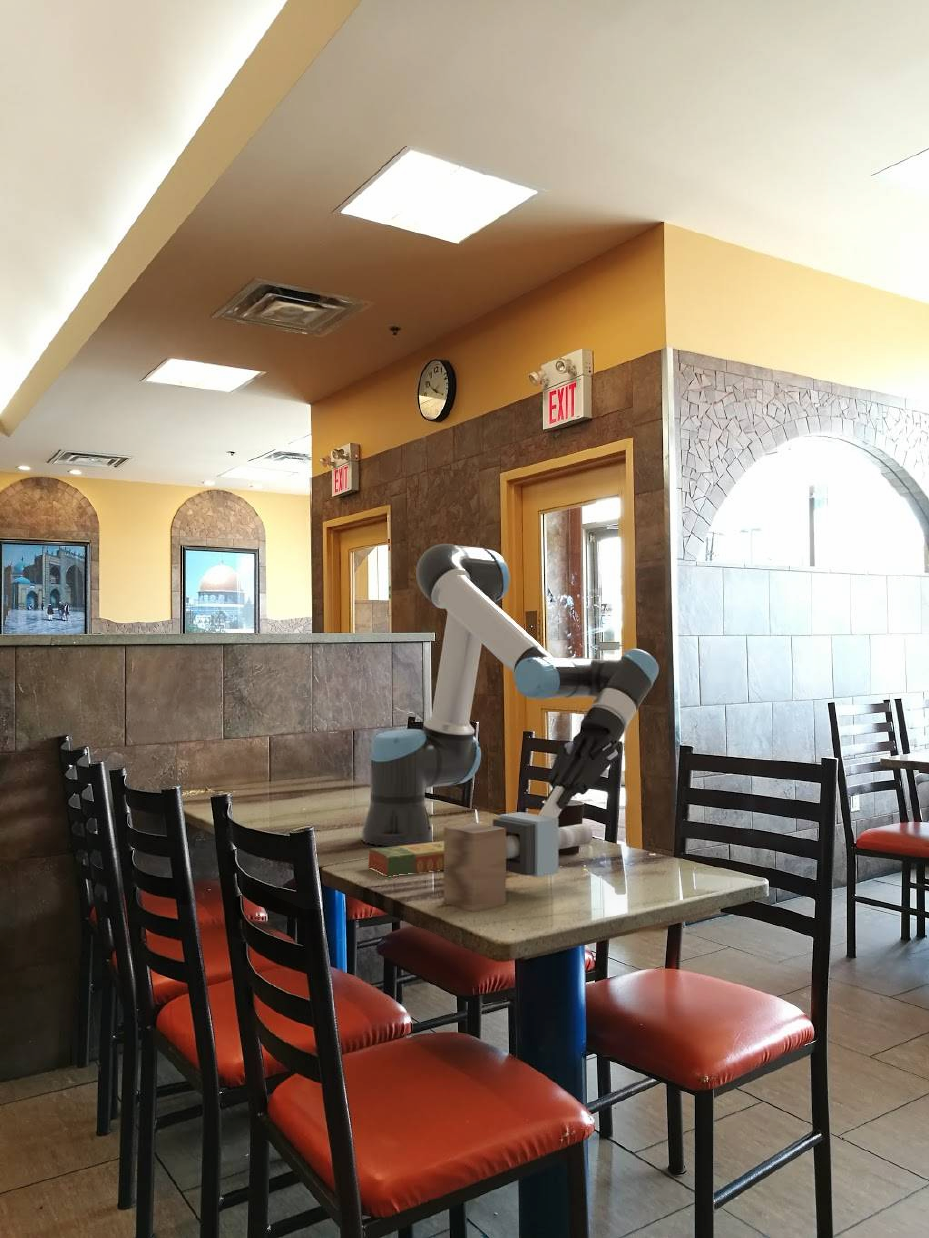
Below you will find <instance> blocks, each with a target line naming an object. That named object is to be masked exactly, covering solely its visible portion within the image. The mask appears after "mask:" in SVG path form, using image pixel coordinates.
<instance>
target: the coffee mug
mask: <svg viewBox="0 0 929 1238" xmlns="http://www.w3.org/2000/svg"><path fill="white" fill-rule="evenodd" d="M545 801H546V799H544V800H542V803H541V804H542V807H543V806H544V805H545V803H546V802H545ZM584 812H585V801H582V800H578V799H571V800H570V801H569V803H568V804H567V806H566V808H565V809H562V811H561V812H560V814H559V816H558V817H557V818H558V828H559V827H566V826H572V825H578V824H583V819H584ZM580 847H581V845H579V846H574V847H568V848H563V849H558V856H562V855H563V856H567V855H568V856H572V855H578V854H579V853H580Z"/></svg>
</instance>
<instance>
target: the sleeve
mask: <svg viewBox="0 0 929 1238" xmlns="http://www.w3.org/2000/svg"><path fill="white" fill-rule="evenodd" d="M498 816H499V818H503V819H508V820H514V821H519V822H525V823H530V824H535V874H532V875H528V876H530V877H533V878H541V877H542V878H543V877H546V876H550V875H552V876H553V875H554V874H555V875H556V874H559V855H558V818H552V817H546V816H541V815H539V814H536V813H535V814H533V813H527V812H522V811H518V812H510V813H503V814H499V815H498ZM499 818H498V819H499ZM511 834H515V833H510V832H508V835H511ZM511 859H516V860H520V857H519V858H511Z"/></svg>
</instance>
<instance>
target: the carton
mask: <svg viewBox="0 0 929 1238" xmlns="http://www.w3.org/2000/svg"><path fill="white" fill-rule="evenodd" d="M369 868H373V869H375V870H377V871H379V872H381V873H383V874H385V875H387V876H393V875H399V874H408V873H420V872H429V871H438V870H444V840H441V841H431V842H429V843H420V844H411V845H403V846H384V847H376V848H375V847H374V848H370V849H369V856H368V869H369ZM438 872H439V871H438ZM429 873H430V872H429Z"/></svg>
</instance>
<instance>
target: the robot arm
mask: <svg viewBox="0 0 929 1238" xmlns="http://www.w3.org/2000/svg"><path fill="white" fill-rule="evenodd" d="M509 570H510V569H509V567H508V564H507V563H506V561H505V559H504V557H503V556H502V555H501V554H499V553H498V552H496V551H495V550H492V549H488V548H487V549H486V548H485V547H484V548H483V547H478V546H476V547H475V546H467V545H458V544H453V543H452V544H451V543H440V544H439V543H438V544H436V545H433V546H432V547H430V548H428V549H427V550H425V552H424V553H423V554H422V555H421V556H420V558H419V560H418V562H417V565H416V572H415V573H416V574H415V576H416V581H417V585H418V586H419V589H420V591H421V593H422V594H423V595H424V596H425V597H426V598H427V599H428V600H429V601H430V602H431V603H432V604H433V605H434V606H435V607H436V608H438V609H445V611H446V612H447V617H446V623H445V628H444V636H443V639H442V640H443V642H442V648H441V654H440V660H439V661H440V662H439V667H438V673H437V679H436V680H437V681H436V685H435V686H436V687H435V691H434V692H435V693H434V699H433V705H432V712H431V716H430V717H429V718H428V719H426V720H425V721H423V724H422V725H423V726H422V729H417V728H405V729H395V730H389V731H384V732H381V733H378V734H376V735H375V736H374V737H373V739H372V741H371V749H370V751H371V752H370V754H369V757H370V805H369V808H368V811H367V814H366V817H365V821H364V825H363V827H362V829H361V841H362V840H363V841H364V842H367V843H370V844H369V845H371V844H375V845H374V846H378V845H382V846H381V847H393V846H403V845H411V844H420V843H429V842H433V828H432V825H431V822H430V818H429V815H428V811H427V808H426V804H425V802H426V801H425V798H426V797H425V793H426V792H425V789H426V788H427V789H428V788H435V787H446V786H447V787H453V786H456V785H458V784H463V783H466V782H467V781H469V780H470V779H472V778H473V777H474V775H475V774H476V773H477V772H478V769H479V768H480V767H479V766H480V764H481V761H482V760H481V758H482V751H481V747H480V746H479V745H480V744H479V741H478V739H477V738H476V737H475V729H474V727H473V726H472V725H471V723H470V719H471V718H470V717H471V713H472V706H473V700H474V695H475V688H476V682H477V677H478V671H479V663H480V657H481V652H482V651H481V649H482V645H484V646H485V648H486V649H488V651H489V652H490V653H492V654H493V656H495V657H496V658H497V659H498V660H499V661H500V662H501V664H503V665H504V666H505V667H506V668H507V669H508V670H509V671H511V673H512V674H513V680H514V681H513V682H514V684H515V687H516V690H517V692H518V693H519V694H521V695H522V696H524V697H525V698H530V699H536V700H546V699H561V698H595V699H594V700H593V703H592V704H591V706H590V708H589V710H588V711H587V713H585V715H584V717H583V718H582V720H581V721H580V728H579V729H580V730H579V732H578V733H577V734H576V735H575V736H574V737H573V738H572V740H571V741H569V742H565V741H564V740H561V741H560V742H559V743H558V751H557V754H556V757H555V760H554V762H553V765H552V767H551V769H550V773H549V775H548V776H547V777H548V778H547V781H546V782H547V783H548V784H549V785H550V786H551V788H552V789H551V790H550V792H549V793H548V795H547V797H546V798H545V800H546V801H545V800H544V801H545V802H546V803H545V805H544V806H543V805H542V808H541V810H540V811H539V813H538V815H541V816H546V817H552V818H557V817H558V816H559V814H560V812H561V811H562V809H565V808H566V806H567V804H568V803H569V801H570V800H572V798H573V797H575V796H576V795H577V794H580V795H583V796H584V795H585V794H586V793H587V792H588V791H589V790H590V789H591V787H592V786H593V785H594V784H595V783H596V781H598V779H599V778H600V777H601V776H602V774H604V772H605V771H606V770H607V769H608V767H610V765H611V764H613V763H614V762H616V761H617V760H618V759H620V753H618V751H617V749H616V748H615V747H616V746H617V745H618V743H619V742H620V740H621V738H622V736H623V735H624V733H625V731H626V729H627V728H628V726H629V724H630V723H631V721H632V720H633V718H634V716H635V715H636V714H637V711H638V709H639V707H640V705H642V703H643V701H644V700H645V698H646V696H647V695H648V693H649V692H650V690H651V689H652V688H653V685H654V682H656V681H655V680H656V679H657V677H658V674H659V670H660V669H659V664H658V662H657V661H656V660H657V659H655V658H654V656H652V655H651V654H650V653H649V652H647V651H645V650H642V649H640V648H639V649H638V648H631V649H629V650H627V651H625V652H624V654H623V655H622V656H621V657H620V659H618V660H617V659H598V658H588V657H583V656H579V657H577V656H575V657H567V658H566V657H555V656H553V655H552V654H551V653H550V652H549V651H547V650H546V649H545V648H544V647H543V646H541V644H540V643H539V642H537V640H535V639H534V638H533V637H532V636H531V635H530V634H528V633H527V631H526V630H524V629H523V628H522V627H521V626H520V625H519V624H517V623H516V621H514V619H512V618H511V617H510V616H509V615H508V614H507V613H506V612H505V611H503V610H502V609H501V608H500V607H499V606H498V605H497V604H496V602H498V601H500V600H501V599H502V598H503V596H505V595H506V594H507V592H508V590H509V586H510V580H511V578H510V571H509ZM363 841H362V842H363ZM364 842H363V843H364ZM367 843H366V844H367Z"/></svg>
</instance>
